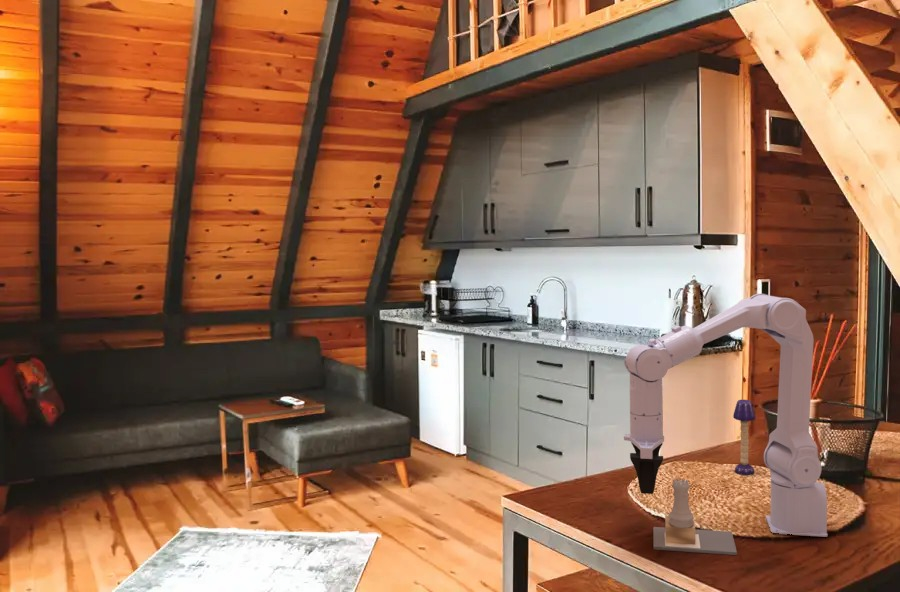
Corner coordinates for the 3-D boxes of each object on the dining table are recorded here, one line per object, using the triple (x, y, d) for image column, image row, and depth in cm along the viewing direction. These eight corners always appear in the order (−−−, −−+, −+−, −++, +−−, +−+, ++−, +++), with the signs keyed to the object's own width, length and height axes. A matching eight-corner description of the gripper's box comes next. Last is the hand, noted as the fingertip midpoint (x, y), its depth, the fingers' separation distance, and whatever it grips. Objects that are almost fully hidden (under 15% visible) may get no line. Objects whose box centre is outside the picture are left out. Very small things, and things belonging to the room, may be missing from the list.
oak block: (693, 533, 143) (693, 517, 143) (695, 544, 138) (695, 528, 138) (665, 531, 144) (665, 516, 144) (666, 542, 140) (666, 526, 139)
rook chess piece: (697, 528, 138) (696, 485, 137) (671, 529, 138) (671, 485, 137) (690, 519, 142) (690, 476, 141) (665, 519, 142) (665, 477, 142)
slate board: (731, 534, 144) (731, 531, 143) (736, 555, 135) (736, 551, 135) (653, 529, 147) (653, 526, 147) (653, 549, 138) (653, 546, 138)
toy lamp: (758, 475, 174) (758, 402, 173) (737, 476, 174) (737, 403, 173) (750, 468, 179) (750, 397, 177) (730, 469, 179) (730, 398, 177)
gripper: (624, 402, 148) (625, 471, 149) (622, 422, 134) (623, 498, 135) (663, 403, 146) (664, 473, 147) (664, 423, 132) (665, 500, 133)
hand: (647, 485), depth 141 cm, fingers open, 7 cm apart
